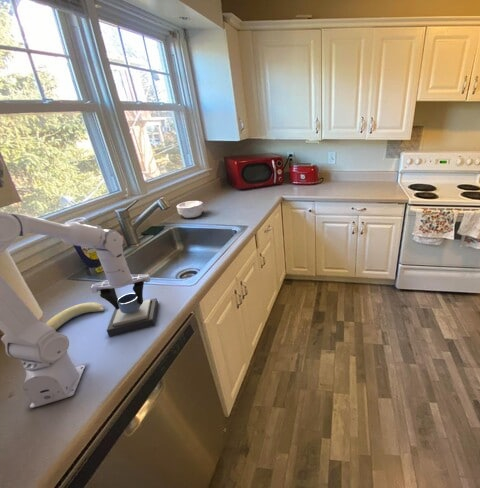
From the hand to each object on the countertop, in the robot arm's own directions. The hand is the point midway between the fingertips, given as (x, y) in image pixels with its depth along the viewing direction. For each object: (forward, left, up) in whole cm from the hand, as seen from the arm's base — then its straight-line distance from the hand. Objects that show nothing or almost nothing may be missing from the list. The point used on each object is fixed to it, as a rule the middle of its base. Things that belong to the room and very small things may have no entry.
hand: (130, 305), depth 88 cm
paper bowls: (+99, -17, -6) cm, 101 cm away
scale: (0, 0, -6) cm, 6 cm away
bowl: (0, 0, -1) cm, 1 cm away
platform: (0, 0, -4) cm, 4 cm away
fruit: (+7, +18, -6) cm, 20 cm away
